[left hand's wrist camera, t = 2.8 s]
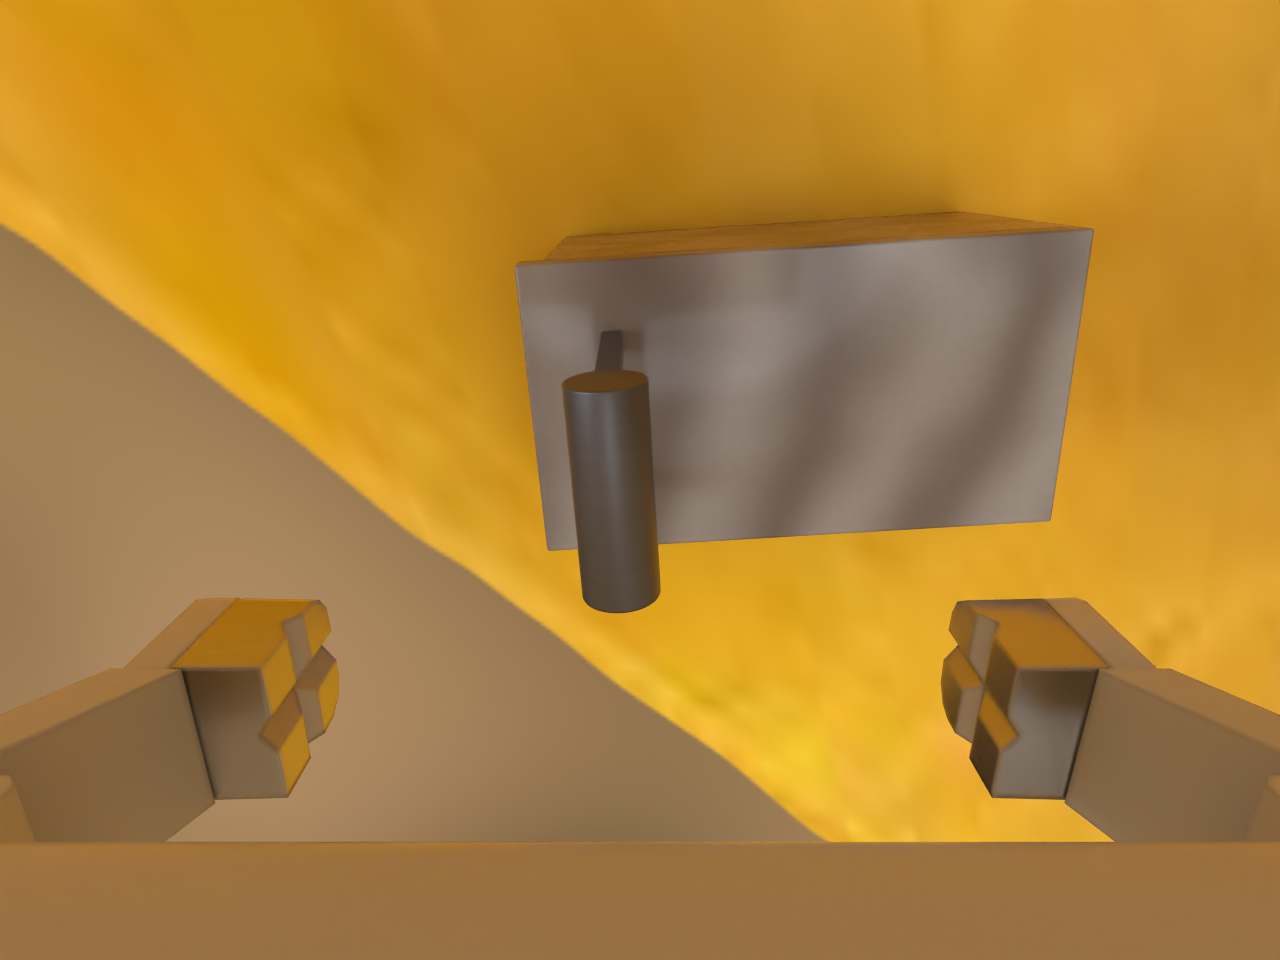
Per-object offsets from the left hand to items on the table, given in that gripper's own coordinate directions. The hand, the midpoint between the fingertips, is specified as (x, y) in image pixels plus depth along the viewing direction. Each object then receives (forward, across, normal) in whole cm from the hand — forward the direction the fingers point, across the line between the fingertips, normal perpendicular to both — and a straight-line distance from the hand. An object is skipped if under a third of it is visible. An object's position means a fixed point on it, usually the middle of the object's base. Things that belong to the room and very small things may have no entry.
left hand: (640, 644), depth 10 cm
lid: (+18, +5, -1) cm, 19 cm away
